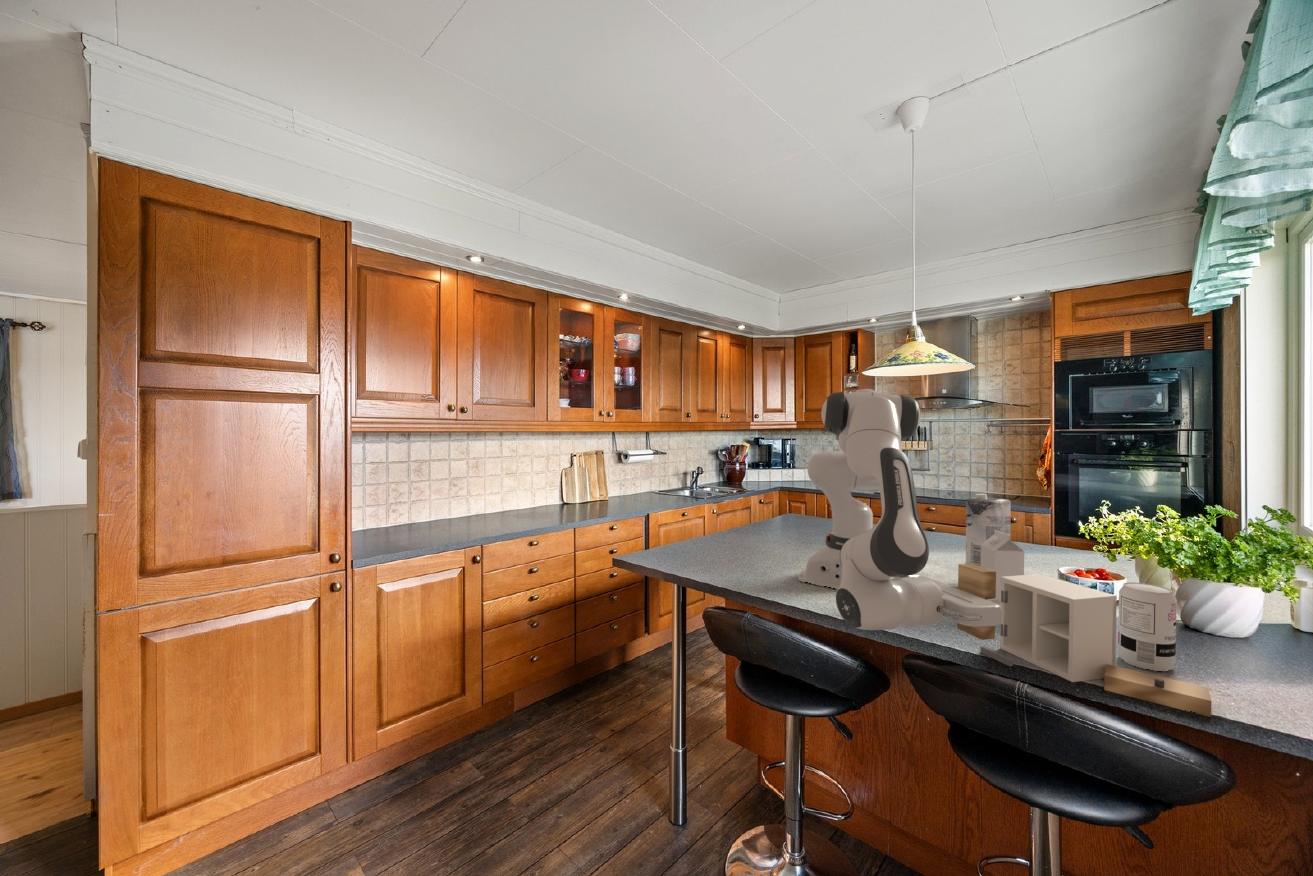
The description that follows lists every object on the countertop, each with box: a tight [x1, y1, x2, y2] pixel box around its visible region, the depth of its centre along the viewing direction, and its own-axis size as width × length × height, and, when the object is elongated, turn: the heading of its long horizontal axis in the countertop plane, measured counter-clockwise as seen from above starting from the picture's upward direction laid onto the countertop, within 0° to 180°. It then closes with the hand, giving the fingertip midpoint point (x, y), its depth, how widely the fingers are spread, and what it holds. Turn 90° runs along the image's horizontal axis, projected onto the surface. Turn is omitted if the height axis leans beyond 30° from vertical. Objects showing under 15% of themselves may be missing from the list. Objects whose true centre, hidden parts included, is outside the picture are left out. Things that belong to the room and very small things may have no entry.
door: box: [1103, 664, 1212, 718], centre depth 91 cm, size 13×6×4 cm, turn 48°
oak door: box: [956, 563, 996, 641], centre depth 104 cm, size 4×6×13 cm, turn 13°
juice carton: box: [965, 493, 1012, 566], centre depth 153 cm, size 9×10×27 cm
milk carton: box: [981, 530, 1025, 606], centre depth 138 cm, size 7×7×19 cm
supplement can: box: [1117, 581, 1178, 671], centre depth 104 cm, size 8×8×15 cm
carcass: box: [979, 573, 1118, 683], centre depth 104 cm, size 16×15×15 cm
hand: (980, 596), depth 105 cm, fingers closed on oak door, 6 cm apart
